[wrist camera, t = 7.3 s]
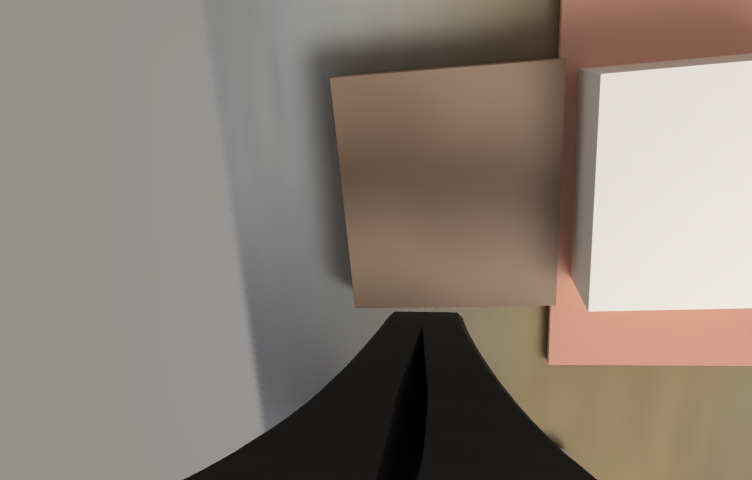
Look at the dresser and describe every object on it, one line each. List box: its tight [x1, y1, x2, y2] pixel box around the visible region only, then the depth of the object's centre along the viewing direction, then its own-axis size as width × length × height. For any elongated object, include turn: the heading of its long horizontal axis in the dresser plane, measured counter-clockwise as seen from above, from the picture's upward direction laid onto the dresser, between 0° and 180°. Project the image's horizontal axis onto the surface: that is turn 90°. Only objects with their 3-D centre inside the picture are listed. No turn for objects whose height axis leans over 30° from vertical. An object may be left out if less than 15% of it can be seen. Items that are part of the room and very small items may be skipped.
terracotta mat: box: [547, 0, 752, 366], centre depth 17 cm, size 14×9×1 cm, turn 5°
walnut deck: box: [330, 57, 566, 308], centre depth 17 cm, size 8×7×1 cm
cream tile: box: [571, 53, 752, 312], centre depth 15 cm, size 7×6×2 cm
